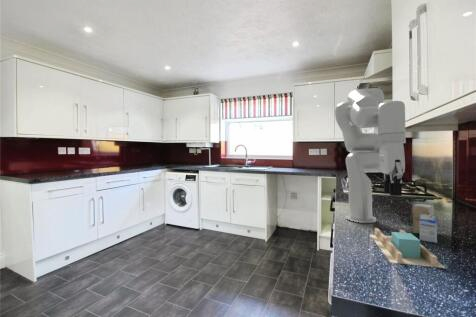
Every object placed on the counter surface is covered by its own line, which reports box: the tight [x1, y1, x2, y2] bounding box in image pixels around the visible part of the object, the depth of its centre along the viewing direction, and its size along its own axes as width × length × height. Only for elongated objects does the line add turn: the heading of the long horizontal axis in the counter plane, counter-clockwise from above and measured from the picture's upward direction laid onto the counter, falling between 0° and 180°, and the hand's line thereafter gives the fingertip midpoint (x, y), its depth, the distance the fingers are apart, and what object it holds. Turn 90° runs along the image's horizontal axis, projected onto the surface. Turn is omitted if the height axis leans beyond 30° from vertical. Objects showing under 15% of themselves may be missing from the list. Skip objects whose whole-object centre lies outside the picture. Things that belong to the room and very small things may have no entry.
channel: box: [369, 227, 446, 269], centre depth 69 cm, size 22×12×4 cm, turn 162°
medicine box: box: [419, 214, 438, 244], centre depth 76 cm, size 8×4×9 cm, turn 141°
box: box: [412, 203, 435, 234], centre depth 83 cm, size 5×4×11 cm
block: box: [391, 231, 421, 258], centre depth 65 cm, size 6×5×5 cm
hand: (392, 193), depth 74 cm, fingers open, 4 cm apart
